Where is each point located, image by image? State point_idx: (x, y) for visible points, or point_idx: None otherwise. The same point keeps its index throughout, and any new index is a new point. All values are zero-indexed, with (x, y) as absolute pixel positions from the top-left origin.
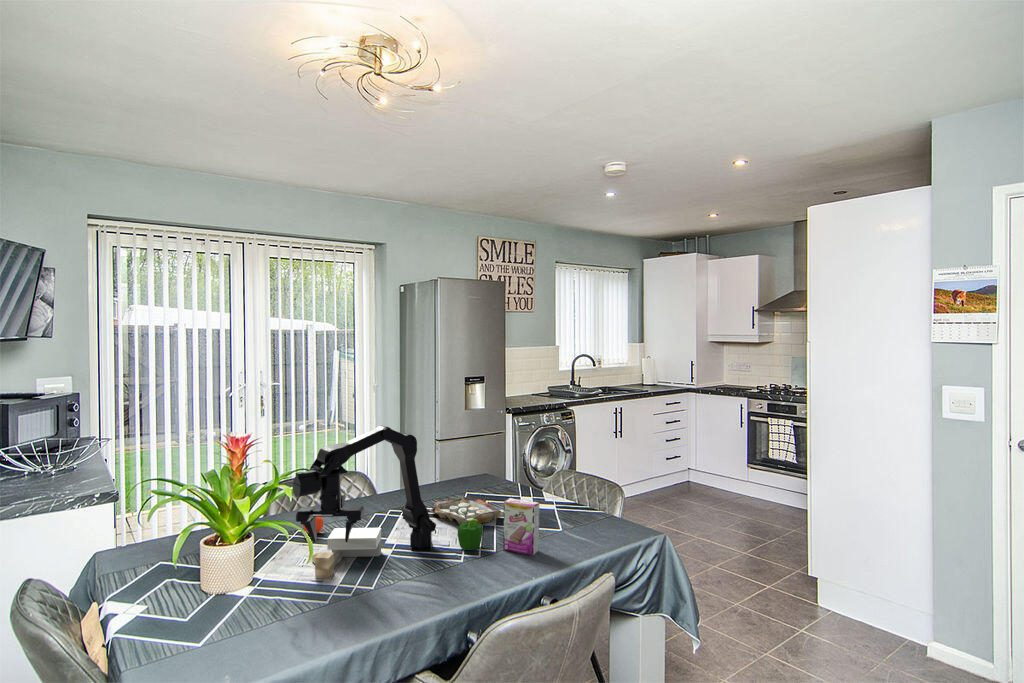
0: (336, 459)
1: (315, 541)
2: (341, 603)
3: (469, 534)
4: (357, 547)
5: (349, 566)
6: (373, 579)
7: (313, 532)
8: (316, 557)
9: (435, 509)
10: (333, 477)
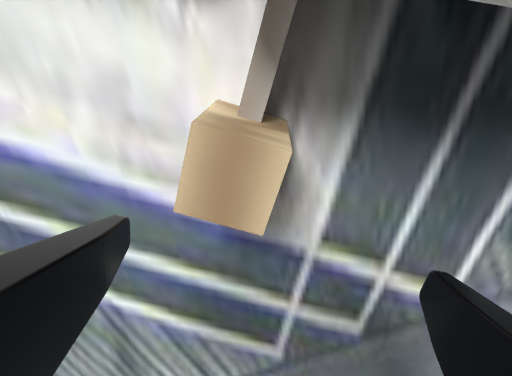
0: None
1: (124, 253)
2: (324, 369)
3: None
4: (496, 1)
5: (375, 52)
6: (469, 235)
7: (47, 370)
8: (182, 210)
9: None
10: None
